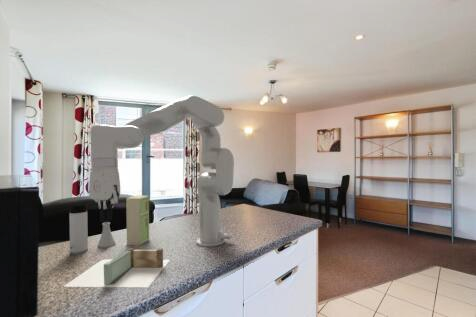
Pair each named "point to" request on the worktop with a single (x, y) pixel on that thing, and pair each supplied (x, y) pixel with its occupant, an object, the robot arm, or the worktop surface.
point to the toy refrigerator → (137, 219)
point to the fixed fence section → (146, 258)
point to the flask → (106, 237)
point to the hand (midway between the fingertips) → (106, 220)
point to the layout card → (127, 279)
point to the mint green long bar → (117, 267)
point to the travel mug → (78, 229)
